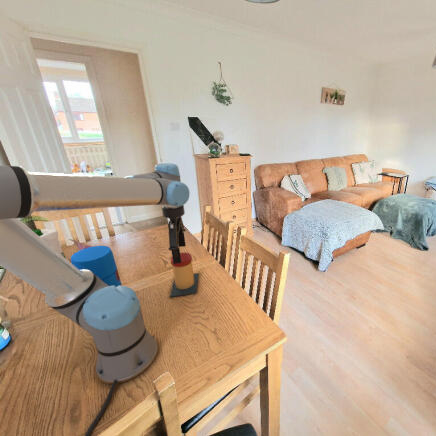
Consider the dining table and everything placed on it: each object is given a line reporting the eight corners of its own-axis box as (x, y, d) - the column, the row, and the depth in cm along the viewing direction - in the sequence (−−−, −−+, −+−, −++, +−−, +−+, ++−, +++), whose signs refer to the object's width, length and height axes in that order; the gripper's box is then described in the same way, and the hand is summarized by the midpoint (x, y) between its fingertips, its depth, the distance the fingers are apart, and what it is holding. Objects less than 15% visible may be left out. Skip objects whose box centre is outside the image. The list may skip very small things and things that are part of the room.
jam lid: (172, 257, 102) (172, 253, 102) (193, 255, 104) (192, 251, 104) (169, 267, 95) (168, 263, 94) (190, 265, 97) (190, 261, 96)
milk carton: (36, 271, 108) (18, 232, 100) (56, 261, 116) (41, 223, 109) (53, 273, 107) (37, 234, 100) (72, 262, 116) (58, 225, 108)
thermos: (86, 325, 82) (62, 264, 73) (98, 304, 92) (79, 247, 82) (122, 318, 86) (104, 259, 76) (131, 298, 95) (116, 243, 85)
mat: (196, 293, 99) (196, 292, 99) (170, 297, 97) (169, 296, 96) (198, 274, 112) (198, 273, 112) (175, 276, 109) (175, 275, 109)
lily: (98, 259, 121) (101, 240, 122) (67, 259, 112) (70, 239, 113) (92, 257, 129) (95, 240, 130) (62, 257, 120) (65, 238, 121)
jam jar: (193, 287, 102) (190, 262, 97) (174, 290, 100) (169, 265, 95) (195, 277, 109) (191, 253, 104) (177, 279, 106) (172, 255, 102)
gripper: (168, 196, 100) (174, 241, 108) (153, 218, 78) (163, 272, 86) (187, 195, 102) (192, 239, 110) (178, 216, 80) (186, 270, 88)
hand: (180, 254), depth 98 cm, fingers open, 13 cm apart
